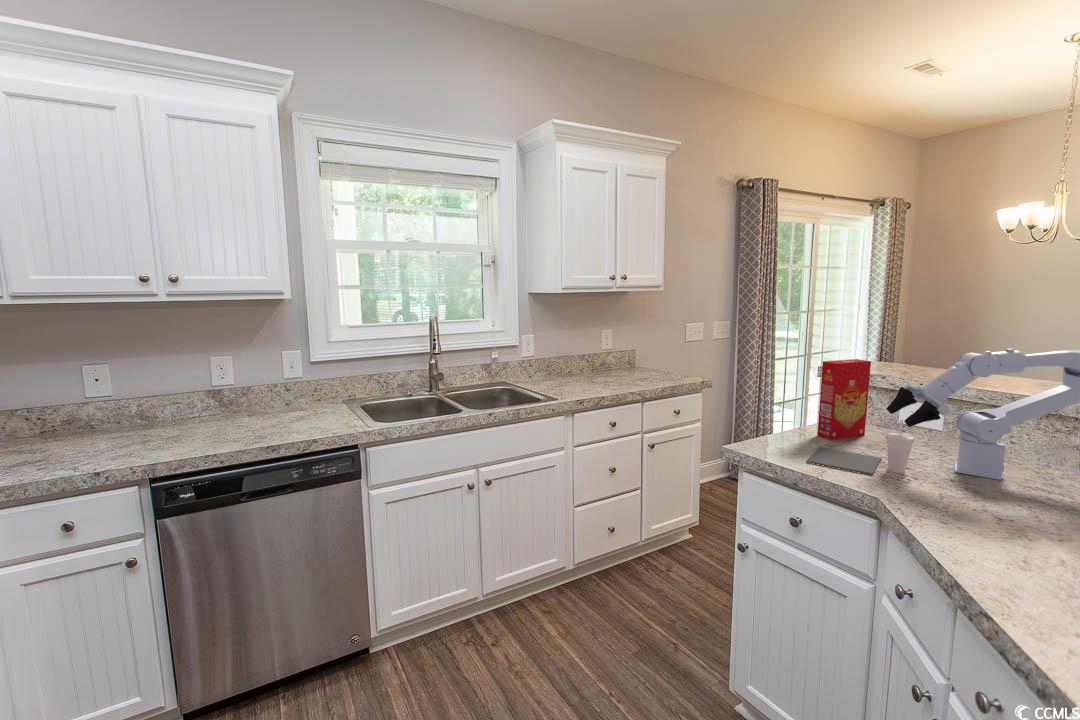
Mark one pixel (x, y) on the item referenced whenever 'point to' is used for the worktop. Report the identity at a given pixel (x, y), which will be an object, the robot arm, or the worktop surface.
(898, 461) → the smoothie
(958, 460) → the robot arm
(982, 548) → the worktop surface
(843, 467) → the mat
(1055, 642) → the worktop surface
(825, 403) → the food packaging
